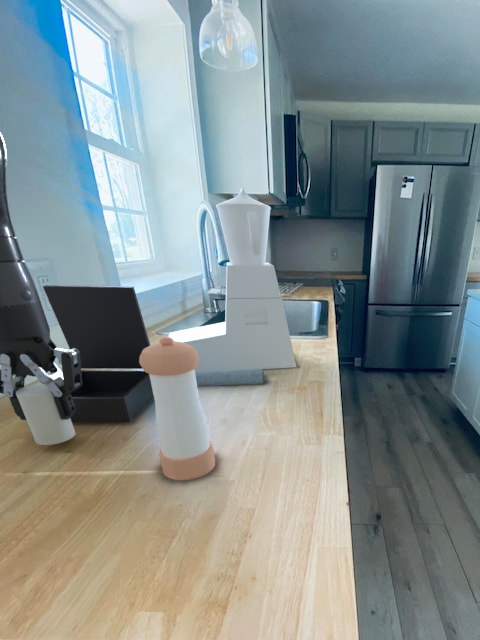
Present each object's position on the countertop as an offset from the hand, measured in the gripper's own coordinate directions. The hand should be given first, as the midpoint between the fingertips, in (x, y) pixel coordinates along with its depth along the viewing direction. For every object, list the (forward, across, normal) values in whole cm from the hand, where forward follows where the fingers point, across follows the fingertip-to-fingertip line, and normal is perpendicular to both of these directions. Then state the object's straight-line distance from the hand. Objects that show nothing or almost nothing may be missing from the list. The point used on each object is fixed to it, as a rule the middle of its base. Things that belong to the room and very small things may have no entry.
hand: (48, 417), depth 55 cm
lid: (-8, 0, -22) cm, 23 cm away
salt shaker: (+6, -22, +6) cm, 23 cm away
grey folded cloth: (+6, -18, -30) cm, 35 cm away
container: (+3, 0, 0) cm, 3 cm away
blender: (+6, -19, -46) cm, 50 cm away
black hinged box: (+6, 0, -16) cm, 17 cm away
